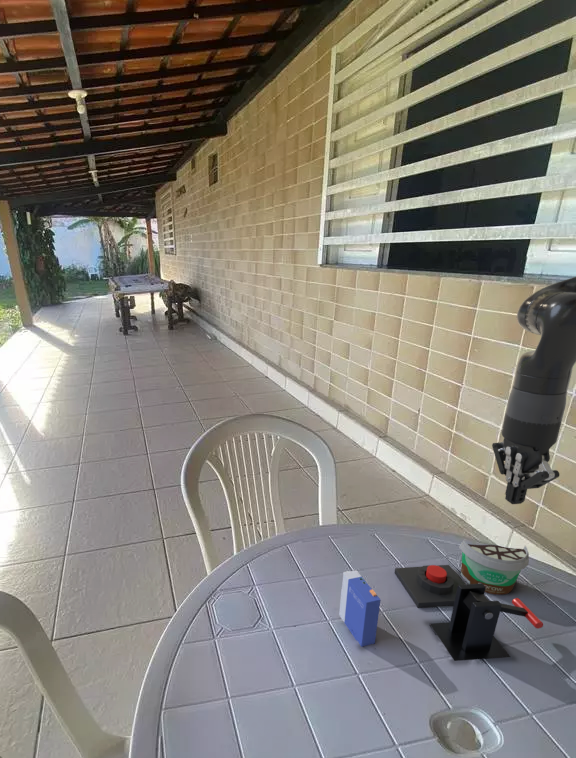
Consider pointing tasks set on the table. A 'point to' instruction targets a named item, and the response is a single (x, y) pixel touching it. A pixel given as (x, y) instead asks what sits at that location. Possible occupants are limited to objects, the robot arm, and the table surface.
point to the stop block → (429, 586)
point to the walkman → (359, 608)
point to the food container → (492, 566)
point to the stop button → (436, 574)
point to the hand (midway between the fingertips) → (513, 501)
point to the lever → (506, 607)
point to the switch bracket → (471, 628)
